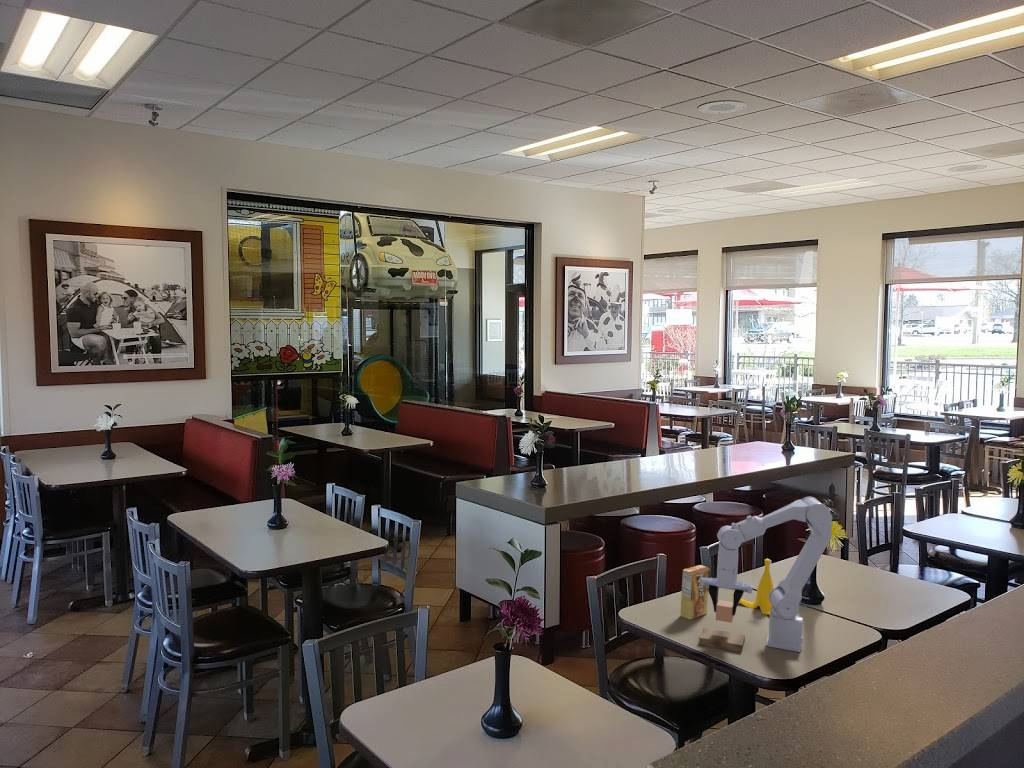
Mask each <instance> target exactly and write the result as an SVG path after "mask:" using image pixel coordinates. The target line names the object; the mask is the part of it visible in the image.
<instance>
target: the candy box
mask: <svg viewBox="0 0 1024 768" xmlns="http://www.w3.org/2000/svg"><path fill="white" fill-rule="evenodd" d="M710 570H711V569H710V567H707V566H705V565H701V564H699V565H695V566H691V567H688V568H684V569H682V578H681V579H682V581H681V582H682V583H681V599H680V612H679V613H680V617H682V618H684V619H687V620H693V619H696V618H698V617H701V616H704V615H707V614H708V602H709V601H708V600H709V599H708V597H709V592H708V589H709V586H706V585H705V586H701V578H702V577H703V578H710Z"/></svg>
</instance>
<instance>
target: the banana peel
mask: <svg viewBox="0 0 1024 768" xmlns="http://www.w3.org/2000/svg"><path fill="white" fill-rule="evenodd" d="M763 561H764V570H763V573H762V576H761V577H760V579H759V583H758V586H757V589H756V598H755V601H749V600H746V599H743V598H741V599H740V601H739V603H740V604H741V605H742V606H743V607H744V606H745V608H747V609H757V608H758V607H759V609H760V612H761V614H763V615H766V616H768V615H769V616H770V610H771V608H772V604H771V603H770V601H769V594H770V592H771V591H772V590H773V589H774V588H775V587H774V585H773V584H774V583H773V579H772V576H771V573H770V566H771V560H770V558H766V559H764V560H763ZM733 594H734V592H732V593H731V595H732V596H733Z"/></svg>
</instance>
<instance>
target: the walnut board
mask: <svg viewBox="0 0 1024 768" xmlns="http://www.w3.org/2000/svg"><path fill="white" fill-rule="evenodd" d="M698 639H699V640H698V641H699V642H698V645H701V646H706V647H712V648H717V649H724V650H729V651H734V652H738V653H743V650H744V646H745V645H744V644H745V643H746V635H745V634H741V633H736V632H729V631H725V630H724V631H723V630H718V629H714V628H708V627H703V628H702V630H701V633H700V635H699V638H698Z"/></svg>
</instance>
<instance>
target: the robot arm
mask: <svg viewBox="0 0 1024 768" xmlns="http://www.w3.org/2000/svg"><path fill="white" fill-rule="evenodd" d="M792 520H796V521H799V522H803V523H807V527H808V528H809V531H810V534H809V536H808V538H807V540H806V541H805V543H804V544H803V547H802V549H801V550H800V552H799V554H798V556H797V557H796V559H795V561H794V563H793V565H792V567H790V570H789V571H788V573H787V575H786V576H785V578H784V579H782V580H781V581H779V583H778V585H777V586H776V587H773V588H774V589H773V590H772V591H771V592H770V594H769V601H770V603H771V604H772V608H771V610H770V615H769V623H768V634H767V636H766V637H767V638H766V641H765V642H766V643H765V647H770V648H775V649H780V650H787V651H793V652H798V653H800V652H802V644H803V642H804V641H803V640H804V637H803V625H804V622H803V621H804V618H803V617H802V616H799V615H798V613H799V610H800V603H801V601H802V593H803V589H804V587H805V585H806V583H807V582H808V580H809V578H810V576H811V574H812V573H813V571H814V569H815V567H816V566H817V564H818V562H819V560H820V559H821V557H822V555H823V553H824V552H825V549H826V548H827V546H828V545H829V543H830V541H831V539H832V537H833V530H832V528H833V527H832V521H833V515H832V513H831V511H830V509H829V507H828V506H827V505H826V504H824V503H821V502H820V501H819V500H818V499H817V498H816V497H813V496H806V497H803V498H801V499H796V500H794V501H793V502H791V503H789V504H787V505H785V506H783V507H780V508H778V509H777V510H774V511H772V512H771V513H768V514H766V515H764V516H761V517H760V516H757V515H753V516H751V515H747V516H746V518H745V519H743V520H740V521H739V522H736V523H735V522H732V523H731V525H724V526H721V527H720V529H718V532H717V533H716V537H717V540H718V541H719V542H718V551H717V566H716V577H715V578H714V577H709V578H703V577H702V578H701V586H705V585H706V586H708V595H709V596H710V598H711V600H712V605H713V606H712V607H713V612H714V613H716V605H717V603H718V600H719V589H723V590H725V589H726V590H730V591H731V590H732V591H734V592H733V593H734V594H733V595H732V596H733V598H732V600H733V601H732V602H733V611H732V615H734V616H736V611H737V607H738V605H739V603H740V602H739V601H740V599H742V597H743V595H744V593H747V594H752V593H753V587H754V586H753V584H748V583H743V582H739V581H738V569H739V568H738V567H739V547H740V546H741V545H742V543H745V542H748V541H750V540H753V539H755V538H758V537H760V536H762V535H764V534H765V532H766V530H767V529H769V528H772V527H775V526H777V525H780V524H783V523H786V522H789V521H792ZM734 616H733V617H734Z"/></svg>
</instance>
